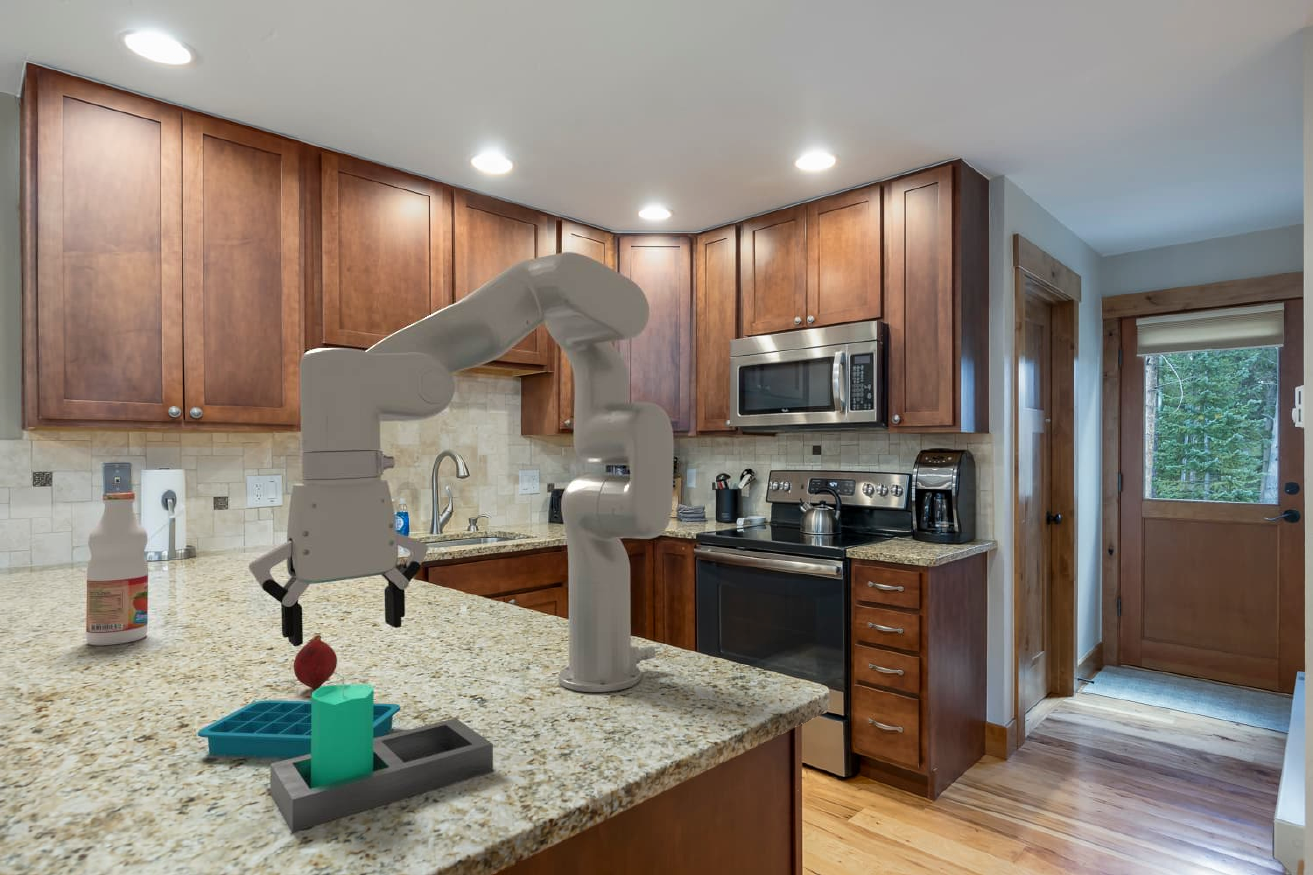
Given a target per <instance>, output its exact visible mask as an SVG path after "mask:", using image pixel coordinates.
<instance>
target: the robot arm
mask: <svg viewBox="0 0 1313 875" xmlns="http://www.w3.org/2000/svg"><path fill="white" fill-rule="evenodd" d="M649 317H650V306H649V302H648V299H647V296H646V295H645V293H644V291H643V290H642V288H640V286H639V285H638V284H637V283H636V282H634V281H633V280H631V279H630V278H629V277H627V276H625V275H624V274H622V273H620V272H618V271H616V270H614V269H612V268H611V267H609V266H607V265H605V264H603V263H602V262H600V261H598V260H596V259H594V258H592V257H590V256H587V255H585V254H581V253H577V252H574V251H567V252H566V251H565V252H560V253H555V254H551V255H550V254H549V255H545V256H540V257H537V258H536V257H535V258H530V259H526V260H523V261H519V262H516V264H513V265H512V266H510V267H508V268H507V269H505V270H504V271H502V272H501V273H500V274H498V275H496V276H495V277H494V278H492V279H490V280H489V281H488V282H486V283H484V284H483V285H481V286H480V287H479V288H477V289H476V290H474V291H472V292H471V293H469V294H468V295H467V296H465V297H464V298H461V299H460V300H458V301H456V302H455V303H453V304H451V305H448V306H446V307H443V308H442V309H439V310H438V311H436V312H434V313H433V314H431V315H428V316H427V317H425V318H423V319H421V320H419V321H416V322H415V323H412V324H411V325H408V326H406V327H404V328H401V329H400V330H398V331H396V332H394V333H392V334H391V335H389V336H387V337H385V338H383V339H382V340H380V341H378V342H377V343H375V344H374V345H372V346H371V347H369V348H368V349H367V350H362V349H356V348H355V349H354V348H345V347H344V348H343V347H328V348H327V347H325V348H315V349H312V350H308V351H306V352H305V353H304V354H303V355H302V357H301V359H300V361H299V399H300V400H299V404H300V439H301V441H300V443H301V444H300V445H301V448H300V449H301V478H302V480H301V482H302V483H295V484H293V485H292V489H291V495H290V501H289V507H288V518H287V531H286V532H287V533H286V534H287V536H286V542H284V543H282V544H281V545H279V546H277V547H276V548H274V549H272V550H270V551H268V552H267V553H266V554H263V555H262V556H260V557H258V558H256V559H255V560H253V561H251V562H250V563H249V565H248V569H249V571H250V573H251V574H252V576H253V577H254V579H255V580H256V582H257V583H258V585H259V586H260V588H261V589H262V590H263V591H264V592H266V594H268V595H269V596H271V597H272V598H274V599H275V600H276V601H278V602H279V603H280V605H281V606H280V607H281V608H280V609H281V610H280V612H281V634H282V637H283V638H285V639H287V640H288V642H289V643H290V644H291V645H292V646H294V647H300V646H301V645H303V644H304V637H303V636H304V632H303V631H304V630H303V606H302V605H301V604H299V599H300V597H301V596H302V595H303V593H305V591H306V590H307V588H308V587H309V586H311V585H313V584H325V583H332V582H338V581H339V582H340V581H346V580H348V581H349V580H353V579H363V578H367V577H375V576H380V575H381V577H383V579H385V581H387V586H385V588H384V591H383V592H384V621H385V623H386V624H387V625H388V626H390V627H392V628H395V629H398V628H401V627H402V618H405V616H406V603H405V602H406V600H405V598H406V597H405V596H406V595H405V590H406V589H407V588H408V587H409V585H410V582H411V581H412V579H413V578H414V577H415V576H416V575H417V574H418V572H419V571H420V570H421V564H422V563H423V562H424V559H425V557H426V555H427V552H428V550H429V546H428V544H426V543H424V542H421V541H419V540H416V539H414V538H412V537H409V536H407V535H404V534H402V533H400V532H397V523H396V515H395V511H394V510H395V509H394V505H393V500H392V495H391V494H392V493H391V489H390V486H389V485H390V484H389V482H388V480H387V479H382V476H384V472H385V471H386V470H387V469H394V468H395V458H394V456H393V455H392V456H387V455H386V454H384V452H383V450H381V449H382V448H381V447H382V446H381V422H406V421H407V422H408V421H420V420H426V419H430V418H433V417H435V416H437V415H439V414H441V413H442V412H443V411H445V410H446V409H447V408H448V407H449V405H450V404H451V402H452V400H453V397H454V395H455V379H454V376H453V374H454V373H457V372H462V371H465V370H469V369H473V368H477V367H479V366H482V365H484V364H487V363H490V362H492V361H495V360H497V359H499V358H501V357H503V356H504V355H505V354H506V353H507V352H509V351H510V350H511V349H512V348H513V347H514V346H516V345H517V344H518V343H520V342H521V341H522V340H523V339H525V338H526V337H528V335H530V334H531V333H532V332H533V331H535V330H536V329H537V328H538V327H539V326H541V325H542V324H544V325H545V329H546V330H547V332H548V334H549V335H550V336H551V338H552V339H553V340H554V341H555V343H557V344H558V346H559V347H560V349H561V350H562V351H563V353H564V354H565V356H566V358H567V359H568V362H569V363H570V366H571V368H572V372H573V378H574V379H573V380H574V406H573V409H574V411H573V446H574V452H575V454H576V456H577V457H578V459H580V460H581V461H582V462H584V463H586V464H589V465H596V466H598V465H599V466H629V474H620V473H590V474H585V475H580V476H578V477H576V478H574V479H572V481H571V480H570V481H569V483H568V485H566V487H565V489H564V491H563V493H562V496H561V500H560V501H561V503H560V504H561V505H560V506H561V516H562V521H563V526H564V530H565V531H564V532H565V535H566V544H567V554H568V555H567V560H568V562H567V564H568V666H566V667H564V668H562V670H560V671H559V673H558V683H559V684H560V685H561V686H563V687H564V688H566V689H569V690H572V691H577V692H583V693H607V692H615V691H620V690H625V689H627V688H630V687H633V686H635V685H637V684H639V682H640V681H641V679H642V673H641V670H640V668H639V667H638V666H637V665H639V664H640V663H641V661H647V660H652V659H654V658H656V655H657V652H656V649H655V647H654V646H652V645H650V646H645V647H641V648H639V646H637V645H635V646H632V644H631V641H632V640H631V639H632V636H631V635H632V634H631V631H632V630H631V628H632V627H631V564H630V563H631V562H630V560H629V554H628V553H627V550H626V548H625V546H624V543H623V542H622V540H621V539H620V538H624V539H625V538H626V539H639V540H644V539H645V540H651V539H654V538H655V539H656V538H658V537H660V536H661V535H662V534H664V533H665V531H666V530H667V528H668V526H669V525H670V521H671V518H672V511H673V496H674V494H673V493H674V491H673V490H674V489H673V488H674V458H675V456H674V455H675V454H674V452H675V448H674V447H675V445H674V443H675V442H674V440H675V439H674V430H673V426H672V423H671V419H670V417H669V415H668V413H667V412H666V411H665V410H664V409H663V408H662V406H660V405H658V404H657V403H654V402H649V401H638V402H637V401H634V402H632V401H631V402H630V379H629V378H630V377H629V376H630V375H629V371H628V368H627V365H626V363H625V361H624V359H623V357H622V356H621V354H620V353H619V352H618V350H617V348H616V347H615V346H614V345H613V344H612V343H611V342H617V341H626V340H631V339H634V338H636V337H638V336H640V334H642V332H643V331H645V329H646V327H647V325H648V323H649ZM399 547H400V548H403V549H405V550H408V552H409V555H408V559H407V561H405V563H404V564H403V565H402V566H401V567H400V568H399V569H398V568H397V566H398V562H399V561H398V560H399ZM283 561H286V571H287V573H288V575H289V576H290V577H289V579H288V580H287V581H286V583H284V585H283V586H282V585H280V583H278V582H277V581H275V579H274V577H273V575H272V574H271V569H273V567H275V566H277V565H279V564H280V563H282V562H283Z"/></svg>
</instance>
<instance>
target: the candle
mask: <svg viewBox="0 0 1313 875" xmlns="http://www.w3.org/2000/svg"><path fill="white" fill-rule="evenodd" d="M341 682H342V684H333V685H323V686H322V685H321V686H320V687H319V688H318V689H315V690H314V691H312V693H311V787H310V789H312V788H315V787H319V786H323V785H326V784H330V783H334V782H337V781H341V780H345V779H348V778H352V777H356V776H359V775H363V774H367V773H370V772H373V703H374V686H373V685H370V684H366V683H358V684H356V683H355V684H354V683H353V684H345V676H344V675H342V681H341Z"/></svg>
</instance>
